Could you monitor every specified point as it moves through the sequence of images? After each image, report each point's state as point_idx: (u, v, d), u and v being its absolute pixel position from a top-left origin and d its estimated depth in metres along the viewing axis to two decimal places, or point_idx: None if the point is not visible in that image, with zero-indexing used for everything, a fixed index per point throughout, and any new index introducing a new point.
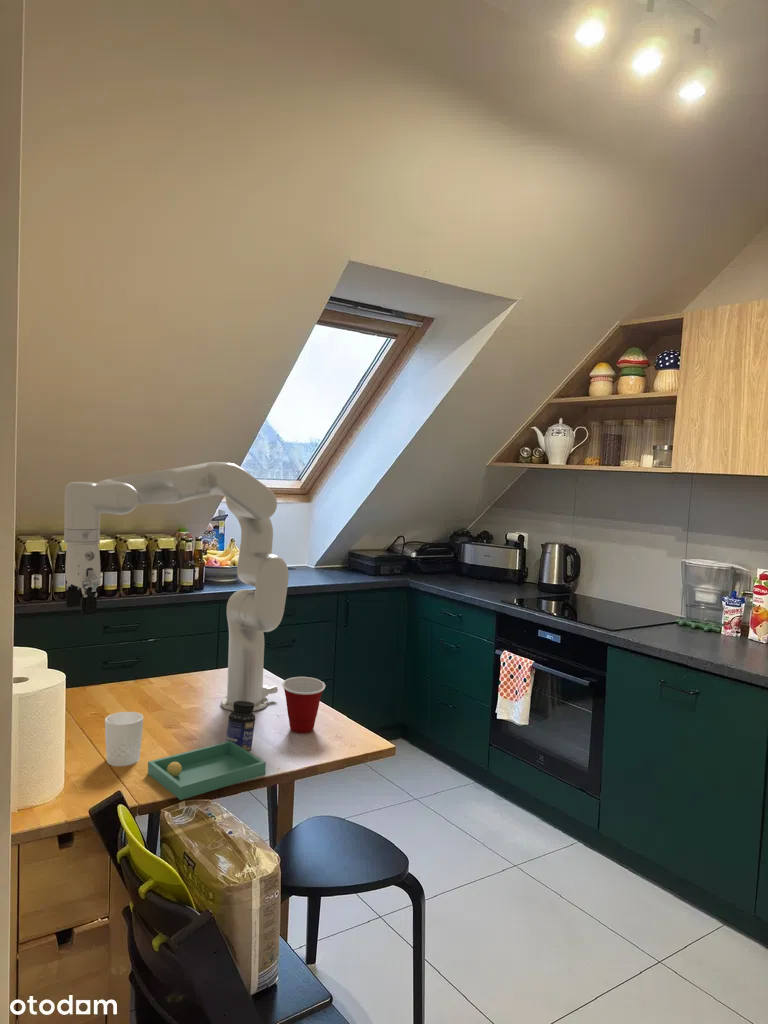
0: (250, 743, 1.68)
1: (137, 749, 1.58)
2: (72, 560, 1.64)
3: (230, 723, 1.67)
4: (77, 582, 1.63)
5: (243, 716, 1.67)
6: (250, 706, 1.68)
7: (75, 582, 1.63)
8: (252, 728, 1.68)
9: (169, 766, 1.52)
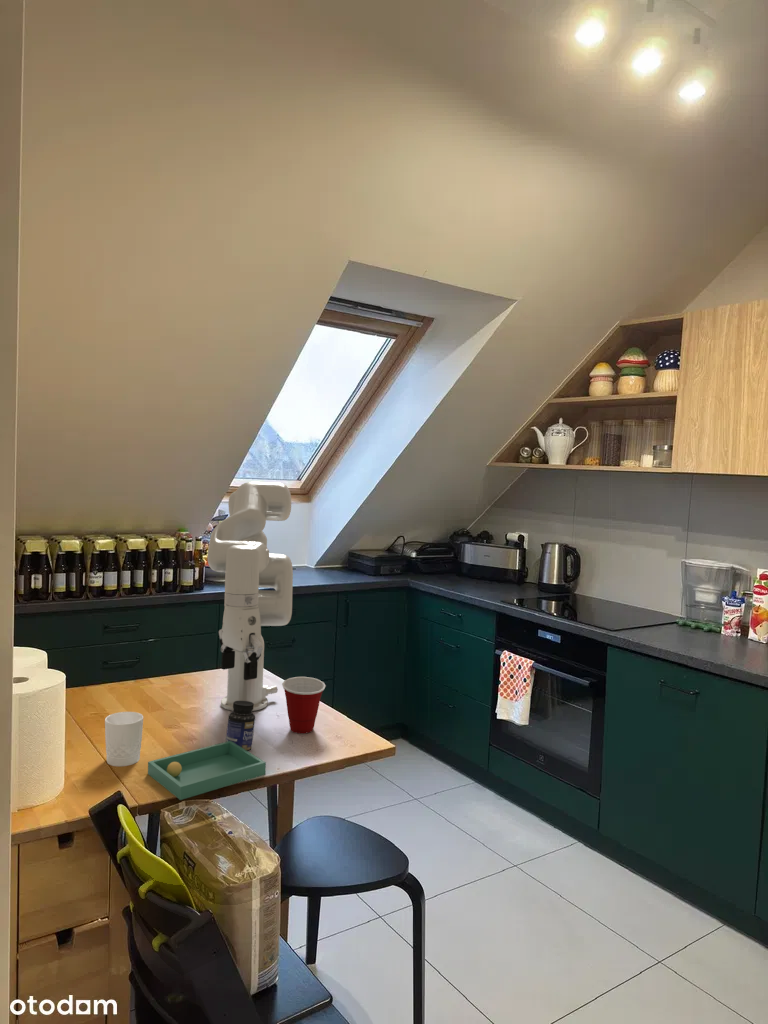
0: (250, 743, 1.68)
1: (137, 749, 1.58)
2: (233, 624, 1.64)
3: (230, 723, 1.67)
4: (239, 647, 1.63)
5: (242, 715, 1.67)
6: (250, 706, 1.68)
7: (237, 646, 1.63)
8: (252, 728, 1.68)
9: (169, 766, 1.52)
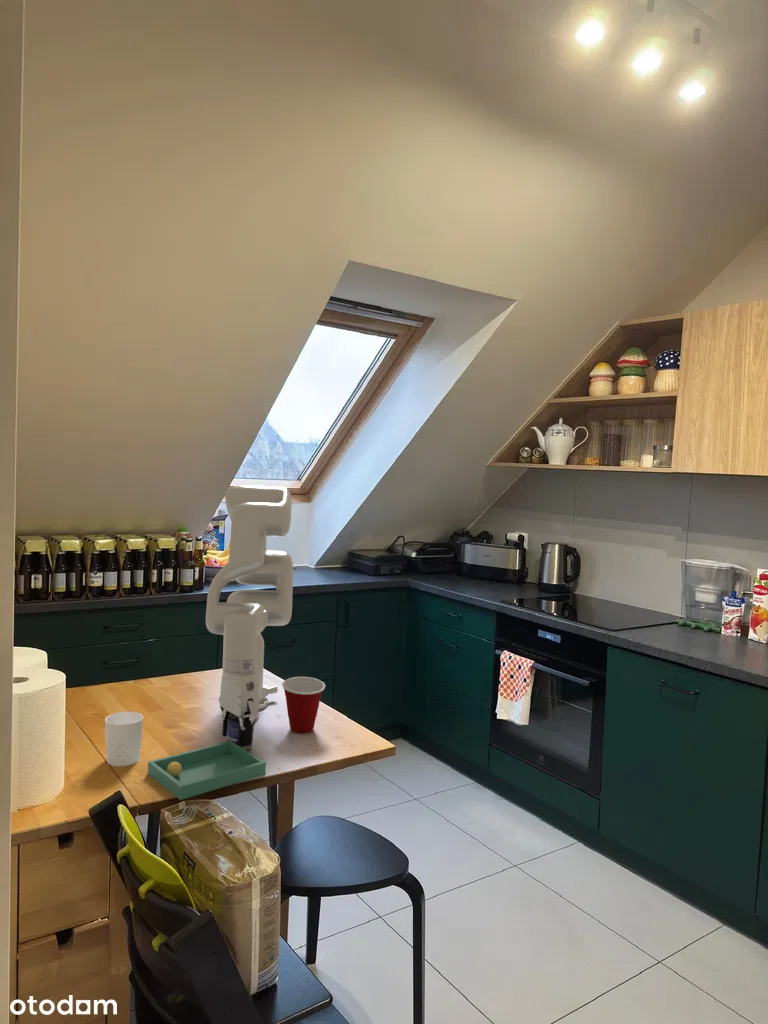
0: None
1: (137, 749, 1.58)
2: (231, 690, 1.65)
3: (230, 723, 1.67)
4: (238, 712, 1.64)
5: None
6: None
7: (235, 711, 1.65)
8: (252, 728, 1.68)
9: (169, 766, 1.52)
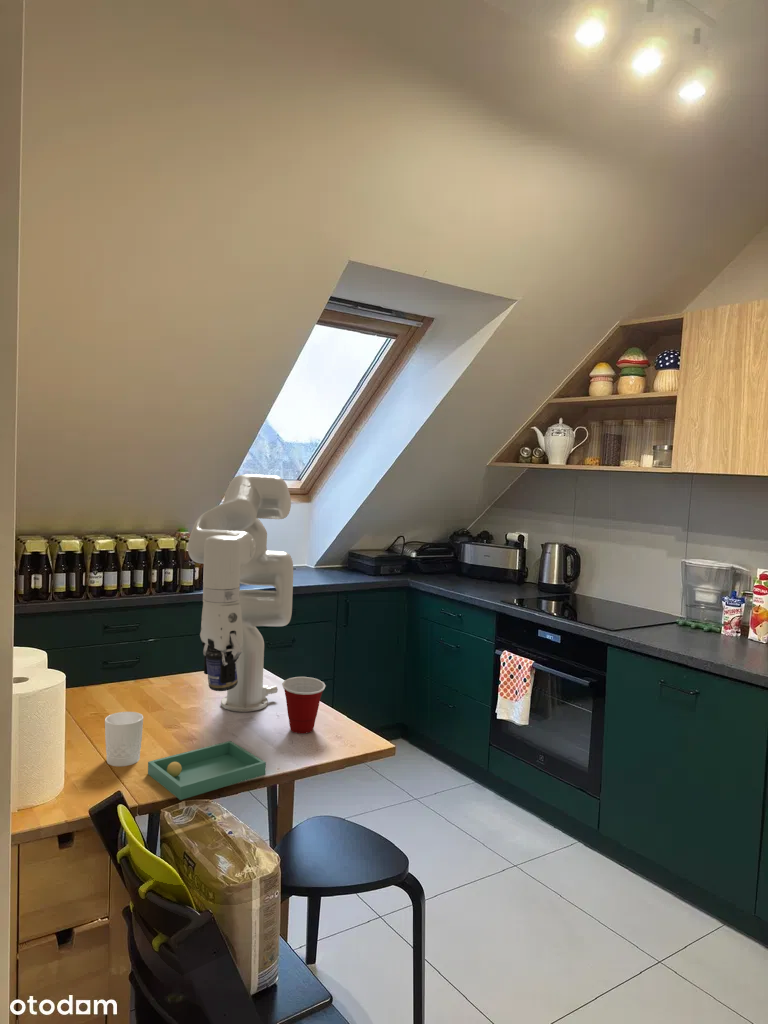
0: None
1: (137, 749, 1.58)
2: (213, 621, 1.51)
3: (208, 661, 1.53)
4: (219, 646, 1.50)
5: (220, 652, 1.52)
6: None
7: (216, 645, 1.51)
8: None
9: (169, 766, 1.52)
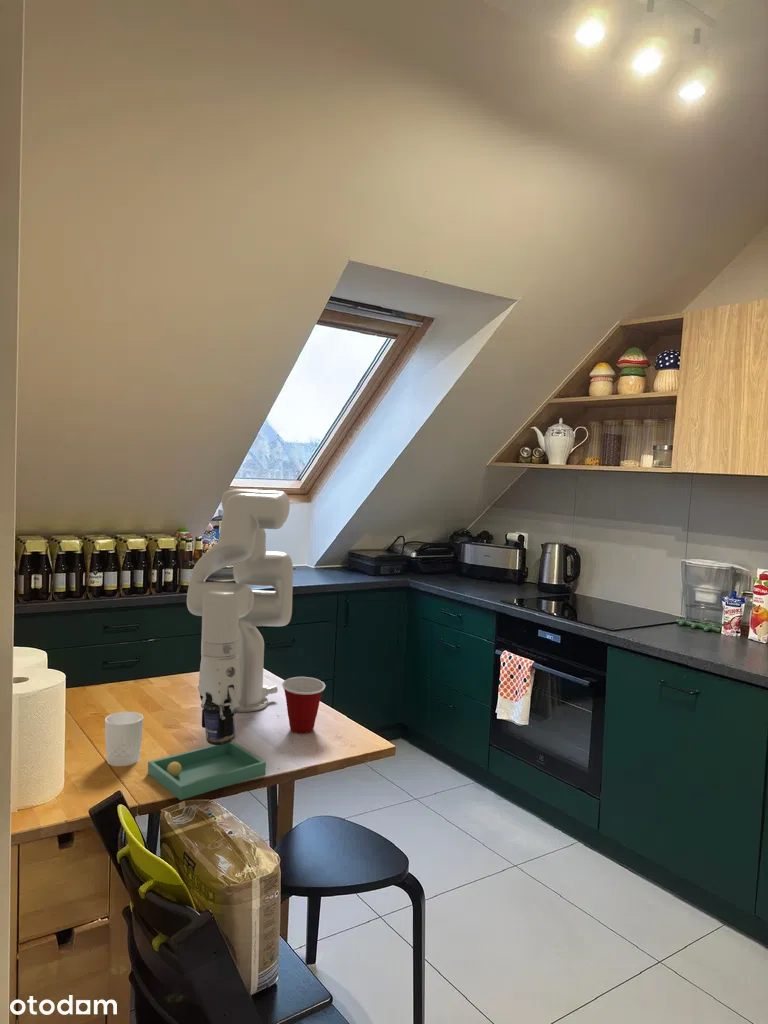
0: None
1: (137, 749, 1.58)
2: (211, 675, 1.52)
3: (206, 715, 1.53)
4: (217, 700, 1.51)
5: (217, 705, 1.52)
6: None
7: (214, 699, 1.51)
8: None
9: (169, 766, 1.52)
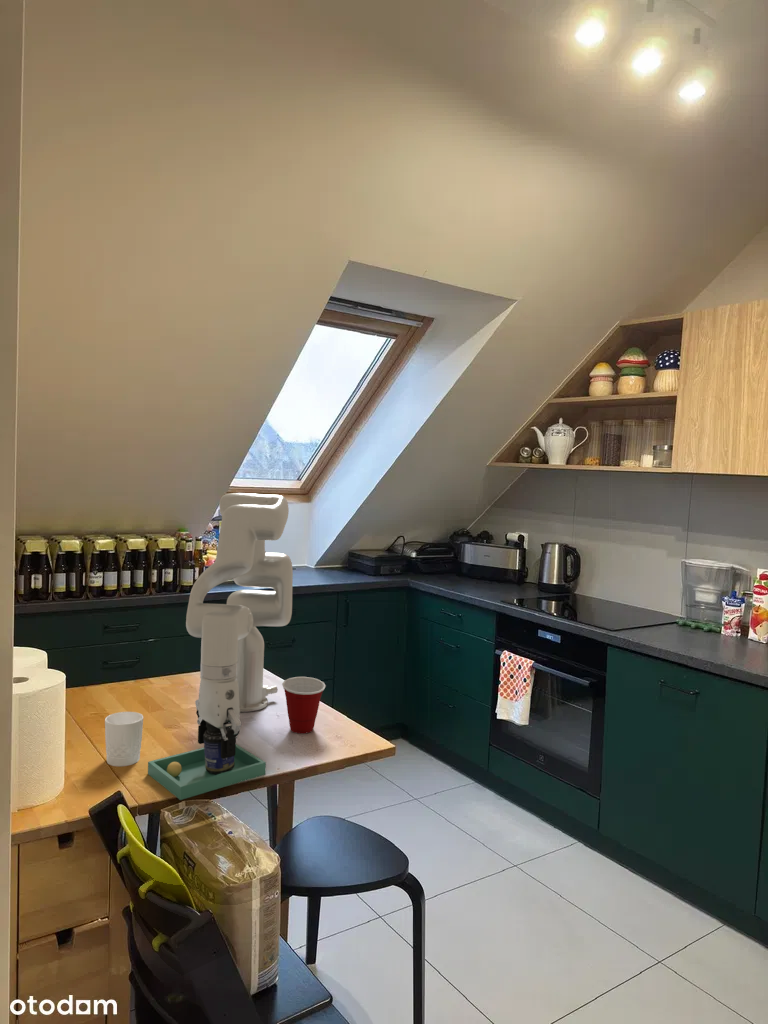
0: (231, 760, 1.55)
1: (137, 749, 1.58)
2: (210, 698, 1.52)
3: (206, 744, 1.53)
4: (216, 723, 1.51)
5: (218, 735, 1.53)
6: (224, 723, 1.54)
7: (213, 722, 1.52)
8: None
9: (169, 766, 1.52)
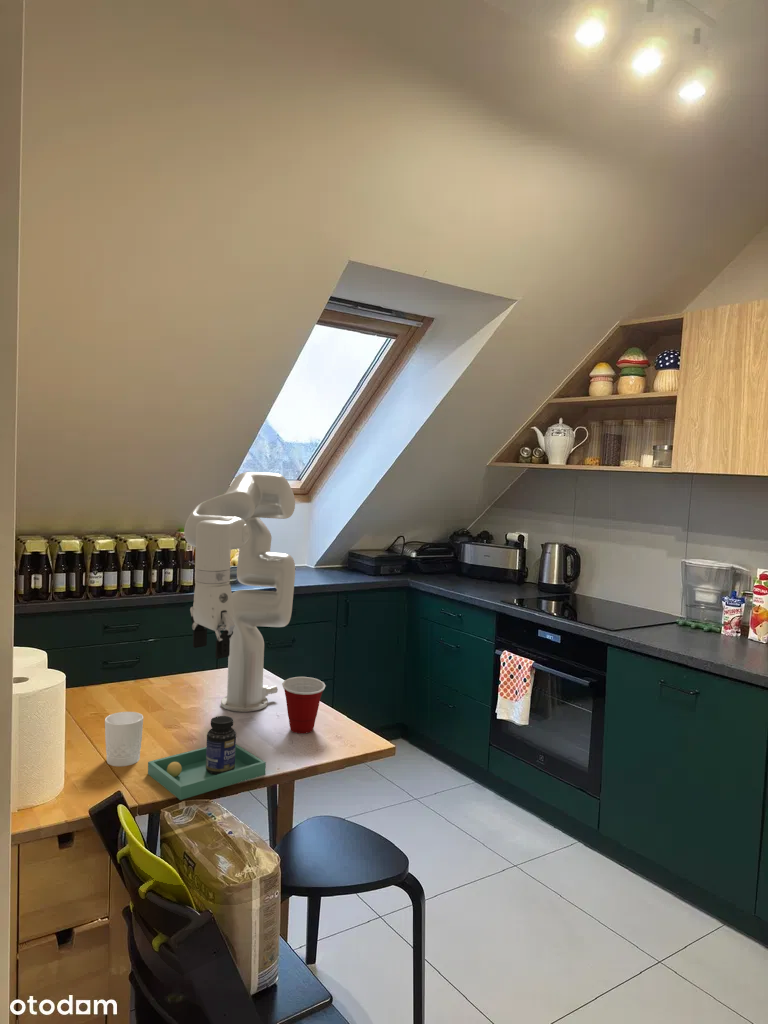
0: (232, 761, 1.56)
1: (137, 749, 1.58)
2: (204, 602, 1.59)
3: (209, 743, 1.54)
4: (211, 625, 1.58)
5: (221, 734, 1.54)
6: (228, 723, 1.55)
7: (208, 624, 1.58)
8: (234, 746, 1.56)
9: (169, 766, 1.52)
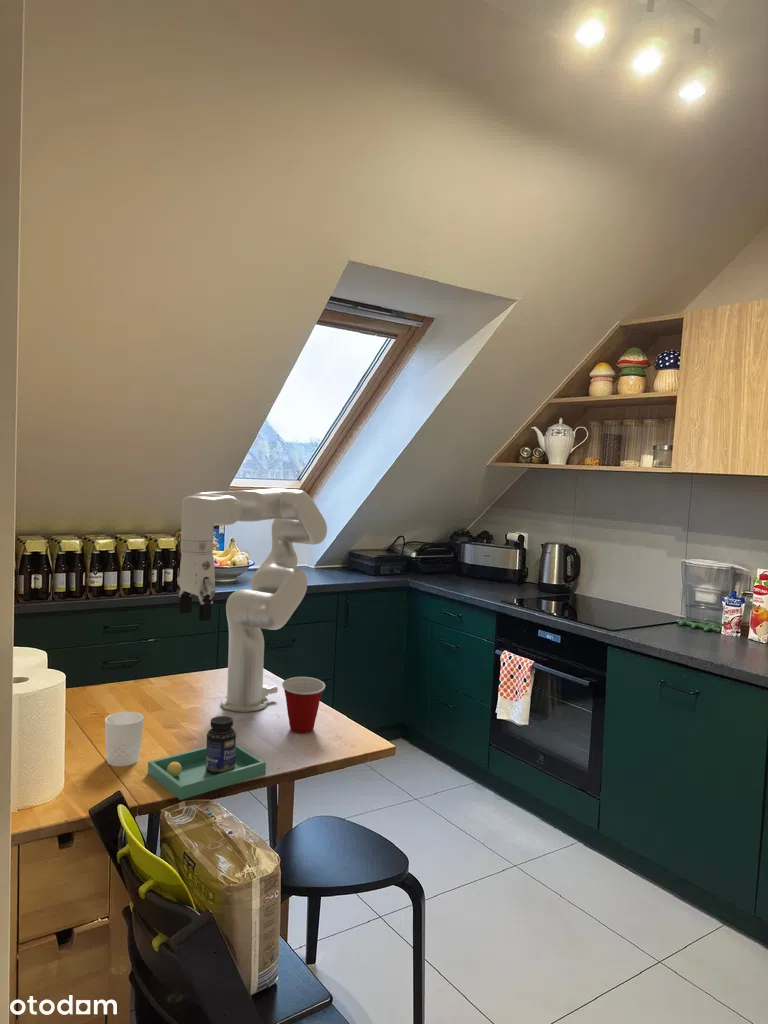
0: (232, 761, 1.56)
1: (137, 749, 1.58)
2: (189, 569, 1.75)
3: (209, 743, 1.54)
4: (194, 590, 1.74)
5: (221, 734, 1.54)
6: (228, 723, 1.55)
7: (192, 590, 1.75)
8: (234, 746, 1.56)
9: (169, 766, 1.52)
